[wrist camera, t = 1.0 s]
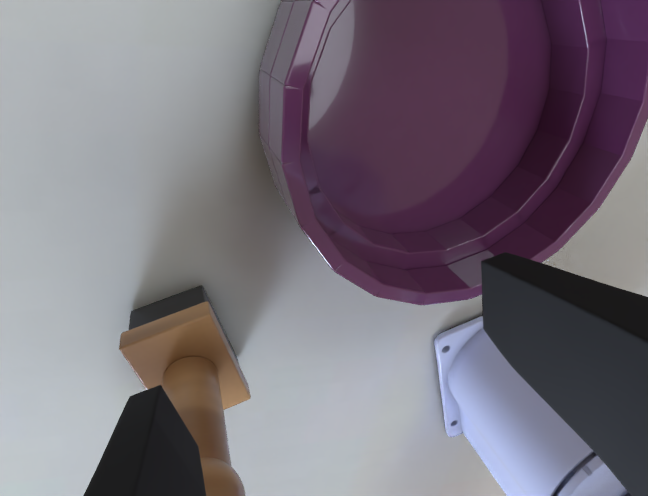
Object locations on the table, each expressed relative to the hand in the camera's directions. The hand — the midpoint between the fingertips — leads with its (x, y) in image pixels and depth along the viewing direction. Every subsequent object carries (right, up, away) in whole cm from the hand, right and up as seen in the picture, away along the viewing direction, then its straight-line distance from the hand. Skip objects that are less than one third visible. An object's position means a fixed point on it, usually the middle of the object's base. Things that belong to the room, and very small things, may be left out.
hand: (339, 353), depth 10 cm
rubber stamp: (-7, -2, +11) cm, 13 cm away
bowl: (+4, +8, +9) cm, 13 cm away
